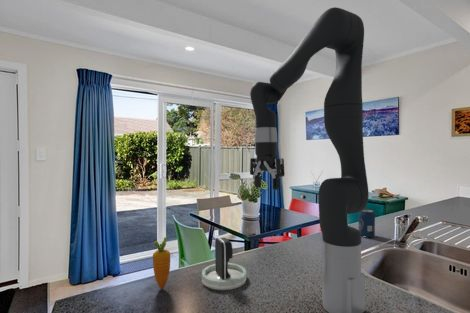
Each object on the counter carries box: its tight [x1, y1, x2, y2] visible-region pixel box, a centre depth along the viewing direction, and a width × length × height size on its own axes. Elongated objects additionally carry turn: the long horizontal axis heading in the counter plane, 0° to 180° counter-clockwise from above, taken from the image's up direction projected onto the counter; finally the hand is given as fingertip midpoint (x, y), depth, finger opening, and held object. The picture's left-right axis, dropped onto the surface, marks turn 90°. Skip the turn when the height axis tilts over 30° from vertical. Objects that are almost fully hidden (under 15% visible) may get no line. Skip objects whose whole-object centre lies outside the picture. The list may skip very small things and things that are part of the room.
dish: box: [201, 262, 248, 291], centre depth 89 cm, size 14×14×2 cm
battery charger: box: [214, 237, 234, 279], centre depth 89 cm, size 7×4×11 cm, turn 23°
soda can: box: [358, 208, 376, 238], centre depth 133 cm, size 7×7×12 cm
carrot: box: [152, 236, 171, 290], centre depth 83 cm, size 5×5×15 cm
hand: (266, 188), depth 98 cm, fingers open, 8 cm apart
